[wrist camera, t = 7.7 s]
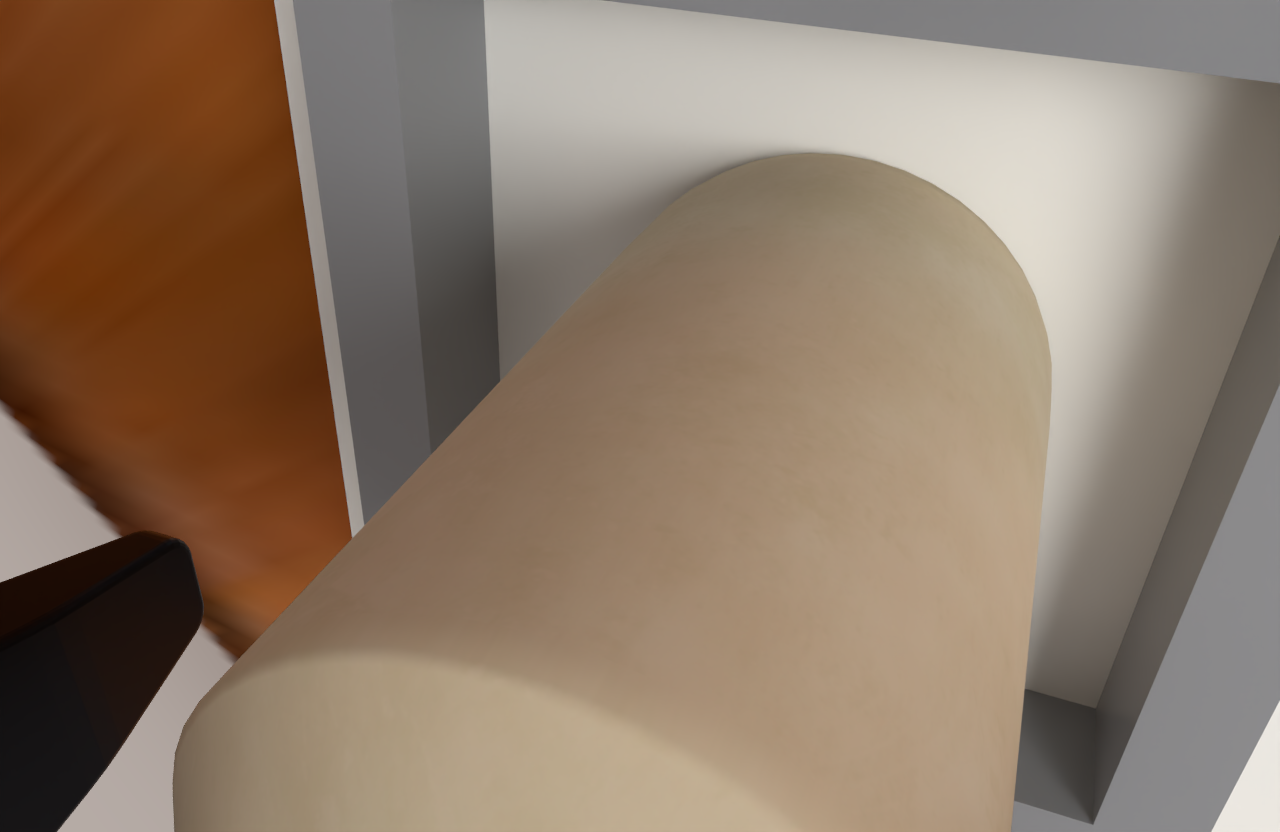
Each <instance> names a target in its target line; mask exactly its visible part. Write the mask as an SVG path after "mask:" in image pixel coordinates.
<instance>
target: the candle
mask: <svg viewBox="0 0 1280 832" xmlns="http://www.w3.org/2000/svg"><path fill="white" fill-rule="evenodd" d="M1051 392H1052V362H1051V355H1050V349H1049V342H1048V336H1047V332H1046V328H1045V325H1044V322H1043V319H1042V315H1041V312H1040V309H1039V306H1038V303H1037V300H1036V297H1035V294H1034V292H1033V290H1032V288H1031V286H1030V284H1029V282H1028V280H1027V278H1026V276H1025V274H1024V272H1023V270H1022V268H1021V267H1020V265H1019V264H1018V262H1017V261H1016V259H1015V258H1014V257H1013V255H1012V254H1011V252H1010V251H1009V249H1008V248H1007V246H1006V245H1005V244H1004V243H1003V241H1002V240H1001V239H1000V238H999V237H998V236H997V235H996V234H995V233H994V232H993V230H992V229H991V228H990V227H989V226H988V225H987V224H986V223H985V222H984V221H983V220H982V219H981V218H980V217H978V216H977V215H976V214H975V213H974V212H972V211H971V210H970V209H969V208H968V207H967V206H965V205H964V204H963V203H962V202H961V201H959V200H957V199H956V198H954V197H953V196H951V195H950V194H948V193H947V192H945V191H943V190H942V189H940V188H939V187H937V186H936V185H934V184H932V183H930V182H928V181H926V180H924V179H921V178H919V177H917V176H915V175H913V174H911V173H909V172H907V171H904V170H901V169H898V168H895V167H892V166H889V165H886V164H883V163H880V162H877V161H873V160H868V159H862V158H857V157H852V156H846V155H836V154H819V153H807V154H793V155H781V156H777V157H772V158H767V159H762V160H757V161H753V162H750V163H747V164H745V165H742V166H739V167H736V168H733V169H730V170H728V171H725V172H723V173H721V174H719V175H717V176H715V177H714V178H712V179H710V180H708V181H706V182H704V183H702V184H700V185H698V186H696V187H694V188H692V189H691V190H690V191H688V192H687V193H685V194H684V195H683V196H681V197H680V198H679V199H677V200H676V201H674V202H673V203H672V204H670V205H669V206H668V207H667V208H666V209H665V210H664V211H663V212H662V213H661V214H660V215H659V216H658V217H657V218H656V219H655V220H654V221H653V222H652V223H651V224H650V225H649V226H648V227H647V228H646V229H645V230H644V231H643V232H642V233H640V234H639V235H638V236H637V237H636V238H635V239H634V240H633V241H632V242H631V243H630V244H629V245H628V246H627V247H626V248H625V249H624V250H623V251H622V252H621V254H620V255H619V256H618V257H617V258H616V259H615V260H614V261H613V262H612V263H611V264H610V265H609V266H608V267H607V268H606V269H605V271H604V272H603V273H602V274H601V275H600V276H599V277H598V278H597V279H596V280H595V281H594V282H593V283H592V284H591V285H590V286H589V288H588V289H587V290H586V291H585V292H584V293H583V294H582V295H581V296H580V297H579V298H578V299H577V300H576V301H575V302H574V303H573V305H572V306H571V307H570V308H569V309H568V310H567V311H566V312H565V313H564V314H563V315H562V316H561V317H560V318H559V319H558V320H557V322H556V323H555V324H554V325H553V326H552V327H551V328H550V329H549V330H548V331H547V332H546V333H545V334H544V335H543V336H542V337H541V338H540V340H539V341H538V342H537V343H536V344H535V345H534V346H533V347H532V348H531V349H530V350H529V351H528V352H527V353H526V354H525V355H524V357H523V358H522V359H521V360H520V361H519V362H518V363H517V364H516V365H515V366H514V367H513V368H512V369H511V370H510V371H509V372H508V374H507V375H506V376H505V377H504V378H503V379H502V380H501V381H500V382H499V383H498V384H497V385H496V386H495V387H494V388H493V389H492V391H491V392H490V393H489V394H488V395H487V396H486V397H485V398H484V399H483V400H482V401H481V402H480V403H479V404H478V405H477V406H476V408H475V409H474V410H473V411H472V412H471V413H470V414H469V415H468V416H467V417H466V418H465V419H464V420H463V421H462V422H461V423H460V425H459V426H458V427H457V428H456V429H455V430H454V431H453V432H452V433H451V434H450V435H449V436H448V437H447V438H446V439H445V440H444V442H443V443H442V444H441V445H440V446H439V447H438V448H437V449H436V450H435V451H434V452H433V453H432V454H431V455H430V456H429V457H428V459H427V460H426V461H425V462H424V463H423V464H422V465H421V466H420V467H419V468H418V469H417V470H416V471H415V472H414V473H413V474H412V475H411V477H410V478H409V479H408V480H407V481H406V482H405V483H404V484H403V485H402V486H401V487H400V488H399V489H398V490H397V491H396V492H395V494H394V495H393V496H392V497H391V498H390V499H389V500H388V501H387V502H386V503H385V504H384V505H383V506H382V507H381V508H380V509H379V511H378V512H377V513H376V514H375V515H374V516H373V517H372V518H371V519H370V520H369V521H368V522H367V523H366V524H365V525H364V526H363V528H362V529H361V530H360V531H359V532H358V533H357V534H356V535H355V536H354V537H353V538H352V539H351V540H350V541H349V542H348V543H347V545H346V546H345V547H344V548H343V549H342V550H341V551H340V552H339V553H338V554H337V555H336V556H335V557H334V558H333V559H332V560H331V562H330V563H329V564H328V565H327V566H326V567H325V568H324V569H323V570H322V571H321V572H320V573H319V574H318V575H317V576H316V577H315V579H314V580H313V581H312V582H311V583H310V584H309V585H308V586H307V587H306V588H305V589H304V590H303V591H302V592H301V593H300V594H299V596H298V597H297V598H296V599H295V600H294V601H293V602H292V603H291V604H290V605H289V606H288V607H287V608H286V609H285V610H284V611H283V613H282V614H281V615H280V616H279V617H278V618H277V619H276V620H275V621H274V622H273V623H272V624H271V625H270V626H269V627H268V628H267V630H266V631H265V632H264V633H263V634H262V635H261V636H260V637H259V638H258V639H257V640H256V641H255V642H254V643H253V644H252V646H251V647H250V648H249V649H248V650H247V651H246V652H245V653H244V654H243V655H242V656H241V657H240V658H239V659H238V660H237V661H236V663H235V664H234V665H233V666H232V667H231V668H230V669H229V670H228V671H227V672H226V673H225V674H224V675H223V677H222V678H221V679H220V680H219V681H218V682H217V683H216V684H215V685H214V686H213V687H212V688H211V689H210V691H209V692H208V693H207V694H206V695H205V696H204V697H203V698H202V699H201V700H200V701H199V703H198V704H197V706H196V708H195V709H194V711H193V712H192V714H191V716H190V717H189V719H188V720H187V722H186V723H185V725H184V727H183V730H182V733H181V736H180V739H179V742H178V746H177V749H176V752H175V760H174V773H173V807H174V831H175V832H1011V826H1012V815H1013V805H1014V794H1015V784H1016V773H1017V763H1018V753H1019V742H1020V732H1021V721H1022V711H1023V700H1024V690H1025V680H1026V669H1027V659H1028V648H1029V638H1030V627H1031V617H1032V607H1033V596H1034V586H1035V575H1036V565H1037V554H1038V544H1039V533H1040V523H1041V513H1042V502H1043V492H1044V481H1045V471H1046V460H1047V450H1048V440H1049V429H1050V412H1051Z"/></svg>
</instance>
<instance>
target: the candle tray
mask: <svg viewBox="0 0 1280 832" xmlns="http://www.w3.org/2000/svg"><path fill="white" fill-rule="evenodd" d="M274 3H275V10H276V17H277V23H278V30H279V37H280V44H281V51H282V58H283V65H284V72H285V79H286V85H287V92H288V99H289V106H290V113H291V120H292V127H293V134H294V140H295V147H296V154H297V161H298V168H299V175H300V182H301V189H302V196H303V202H304V209H305V216H306V223H307V230H308V237H309V244H310V251H311V257H312V264H313V271H314V278H315V285H316V292H317V299H318V306H319V313H320V319H321V326H322V333H323V340H324V347H325V354H326V361H327V368H328V374H329V381H330V388H331V395H332V402H333V409H334V416H335V423H336V429H337V436H338V443H339V450H340V457H341V464H342V471H343V478H344V485H345V491H346V498H347V505H348V512H349V519H350V526H351V533H352V538H353V537H354V536H355V535H356V534H357V533H358V532H359V531H360V530H361V529H362V528H363V526H364V525H365V524H366V523H367V522H368V521H369V520H370V519H371V518H372V517H373V516H374V515H375V514H376V513H377V512H378V511H379V509H380V508H381V507H382V506H383V505H384V504H385V503H386V502H387V501H388V500H389V499H390V498H391V497H392V496H393V495H394V494H395V492H396V491H397V490H398V489H399V488H400V487H401V486H402V485H403V484H404V483H405V482H406V481H407V480H408V479H409V478H410V477H411V475H412V474H413V473H414V472H415V471H416V470H417V469H418V468H419V467H420V466H421V465H422V464H423V463H424V462H425V461H426V460H427V459H428V457H429V456H430V455H431V454H432V453H433V452H434V451H435V450H436V449H437V448H438V447H439V446H440V445H441V444H442V443H443V442H444V440H445V439H446V438H447V437H448V436H449V435H450V434H451V433H452V432H453V431H454V430H455V429H456V428H457V427H458V426H459V425H460V423H461V422H462V421H463V420H464V419H465V418H466V417H467V416H468V415H469V414H470V413H471V412H472V411H473V410H474V409H475V408H476V406H477V405H478V404H479V403H480V402H481V401H482V400H483V399H484V398H485V397H486V396H487V395H488V394H489V393H490V392H491V391H492V389H493V388H494V387H495V386H496V385H497V384H498V383H499V382H500V381H501V380H502V379H503V378H504V377H505V376H506V375H507V374H508V372H509V371H510V370H511V369H512V368H513V367H514V366H515V365H516V364H517V363H518V362H519V361H520V360H521V359H522V358H523V357H524V355H525V354H526V353H527V352H528V351H529V350H530V349H531V348H532V347H533V346H534V345H535V344H536V343H537V342H538V341H539V340H540V338H541V337H542V336H543V335H544V334H545V333H546V332H547V331H548V330H549V329H550V328H551V327H552V326H553V325H554V324H555V323H556V322H557V320H558V319H559V318H560V317H561V316H562V315H563V314H564V313H565V312H566V311H567V310H568V309H569V308H570V307H571V306H572V305H573V303H574V302H575V301H576V300H577V299H578V298H579V297H580V296H581V295H582V294H583V293H584V292H585V291H586V290H587V289H588V288H589V286H590V285H591V284H592V283H593V282H594V281H595V280H596V279H597V278H598V277H599V276H600V275H601V274H602V273H603V272H604V271H605V269H606V268H607V267H608V266H609V265H610V264H611V263H612V262H613V261H614V260H615V259H616V258H617V257H618V256H619V255H620V254H621V252H622V251H623V250H624V249H625V248H626V247H627V246H628V245H629V244H630V243H631V242H632V241H633V240H634V239H635V238H636V237H637V236H638V235H639V234H640V233H642V232H643V231H644V230H645V229H646V228H647V227H648V226H649V225H650V224H651V223H652V222H653V221H654V220H655V219H656V218H657V217H658V216H659V215H660V214H661V213H662V212H663V211H664V210H665V209H666V208H667V207H668V206H669V205H670V204H672V203H673V202H674V201H676V200H677V199H679V198H680V197H681V196H683V195H684V194H685V193H687V192H688V191H690V190H691V189H692V188H694V187H696V186H698V185H700V184H702V183H704V182H706V181H708V180H710V179H712V178H714V177H715V176H717V175H719V174H721V173H723V172H725V171H728V170H730V169H733V168H736V167H739V166H742V165H745V164H747V163H750V162H753V161H757V160H762V159H767V158H772V157H777V156H781V155H793V154H807V153H819V154H836V155H846V156H852V157H857V158H862V159H868V160H873V161H877V162H880V163H883V164H886V165H889V166H892V167H895V168H898V169H901V170H904V171H907V172H909V173H911V174H913V175H915V176H917V177H919V178H921V179H924V180H926V181H928V182H930V183H932V184H934V185H936V186H937V187H939V188H940V189H942V190H943V191H945V192H947V193H948V194H950V195H951V196H953V197H954V198H956V199H957V200H959V201H961V202H962V203H963V204H964V205H965V206H967V207H968V208H969V209H970V210H971V211H972V212H974V213H975V214H976V215H977V216H978V217H980V218H981V219H982V220H983V221H984V222H985V223H986V224H987V225H988V226H989V227H990V228H991V229H992V230H993V232H994V233H995V234H996V235H997V236H998V237H999V238H1000V239H1001V240H1002V241H1003V243H1004V244H1005V245H1006V246H1007V248H1008V249H1009V251H1010V252H1011V254H1012V255H1013V257H1014V258H1015V259H1016V261H1017V262H1018V264H1019V265H1020V267H1021V268H1022V270H1023V272H1024V274H1025V276H1026V278H1027V280H1028V282H1029V284H1030V286H1031V288H1032V290H1033V292H1034V294H1035V297H1036V300H1037V303H1038V306H1039V309H1040V312H1041V315H1042V319H1043V322H1044V325H1045V328H1046V332H1047V336H1048V342H1049V349H1050V355H1051V362H1052V392H1051V412H1050V429H1049V440H1048V450H1047V460H1046V471H1045V481H1044V492H1043V502H1042V513H1041V523H1040V533H1039V544H1038V554H1037V565H1036V575H1035V586H1034V596H1033V607H1032V617H1031V627H1030V638H1029V648H1028V659H1027V669H1026V680H1025V690H1024V700H1023V711H1022V721H1021V732H1020V742H1019V753H1018V763H1017V773H1016V784H1015V794H1014V805H1013V815H1012V826H1011V832H1280V0H274Z"/></svg>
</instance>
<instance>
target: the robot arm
mask: <svg viewBox="0 0 1280 832" xmlns="http://www.w3.org/2000/svg"><path fill="white" fill-rule="evenodd" d="M203 613H204V603H203V598H202V594H201V590H200V587H199V583H198V579H197V575H196V571H195V567H194V563H193V559H192V555H191V552H190V549H189V547H188V546H187V545H186V544H185V543H184V542H183V541H182V540H180V539H177V538H174V537H171V536H167V535H164V534H161V533H158V532H154V531H138V532H135V533H132V534H129V535H127V536H124V537H121V538H119V539H116V540H113V541H111V542H108V543H106V544H103V545H100V546H98V547H95V548H92V549H89V550H87V551H84V552H81V553H78V554H76V555H73V556H71V557H68V558H65V559H62V560H60V561H57V562H55V563H52V564H49V565H47V566H44V567H41V568H38V569H36V570H33V571H30V572H28V573H25V574H22V575H20V576H17V577H14V578H12V579H9V580H6V581H3V582H1V583H0V832H57V831H58V830H59V829H60V827H61V826H62V825H63V823H64V822H65V821H66V820H67V819H68V817H69V816H70V814H72V812H73V811H74V810H75V809H76V807H77V806H78V804H80V802H81V801H82V799H84V797H85V796H86V795H87V794H88V792H89V791H90V790H91V788H92V787H93V786H94V784H95V783H96V782H97V781H98V779H99V778H100V777H101V775H102V774H103V772H104V771H105V770H106V769H107V767H108V766H109V764H110V763H111V761H112V760H113V759H114V757H115V756H116V754H117V753H118V751H119V750H120V748H121V747H122V745H123V744H124V743H125V741H126V740H127V738H128V736H129V735H130V733H131V732H132V730H133V729H134V727H135V726H136V724H137V722H138V721H139V720H140V718H141V716H142V715H143V713H144V712H145V710H146V709H147V707H148V706H149V704H150V703H151V701H152V700H153V698H154V696H155V695H156V693H157V692H158V690H159V689H160V687H161V686H162V684H163V683H164V681H165V680H166V678H167V677H168V675H169V674H170V672H171V671H172V669H173V667H174V666H175V664H176V663H177V661H178V660H179V658H180V657H181V655H182V654H183V652H184V651H185V649H186V647H187V646H188V645H189V643H190V641H191V640H192V638H193V637H194V635H195V634H196V632H197V630H198V628H199V626H200V624H201V621H202V617H203Z"/></svg>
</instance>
